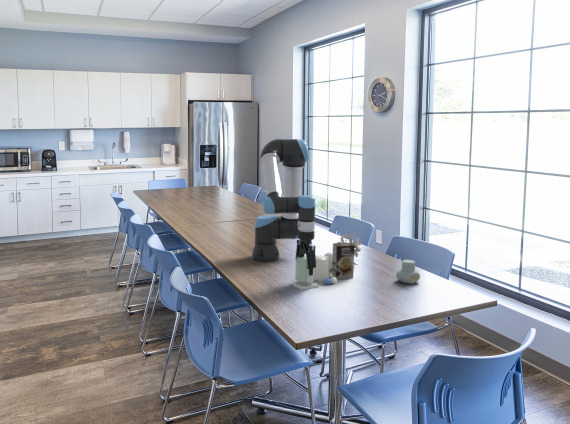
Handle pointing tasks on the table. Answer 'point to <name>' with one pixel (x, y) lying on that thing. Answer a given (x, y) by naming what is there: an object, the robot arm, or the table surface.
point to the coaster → (304, 285)
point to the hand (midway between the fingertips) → (305, 279)
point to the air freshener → (408, 272)
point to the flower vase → (345, 242)
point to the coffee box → (343, 260)
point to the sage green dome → (302, 269)
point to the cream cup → (322, 268)
